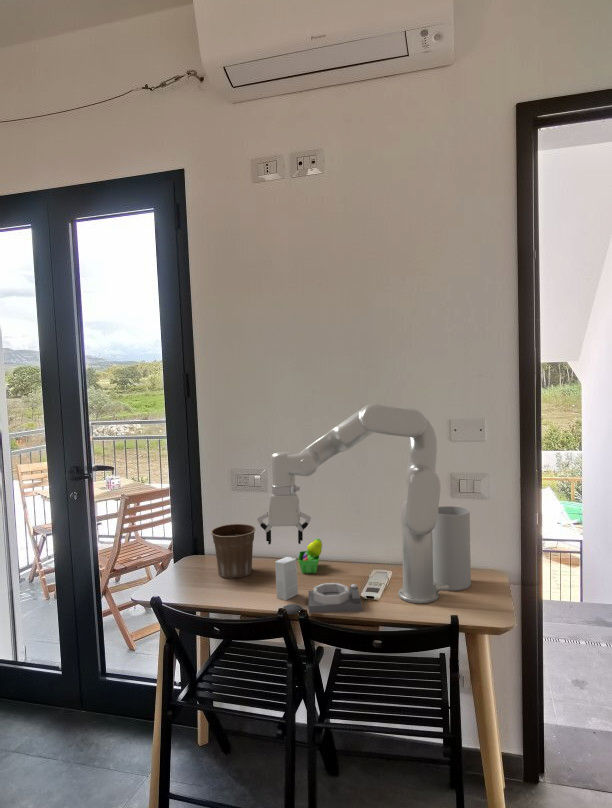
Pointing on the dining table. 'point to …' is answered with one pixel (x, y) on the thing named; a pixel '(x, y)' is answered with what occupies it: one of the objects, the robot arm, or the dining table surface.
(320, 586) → the octagonal ring base
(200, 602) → the dining table surface
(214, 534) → the plant pot
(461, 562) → the cylinder vase
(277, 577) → the skincare box
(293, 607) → the lens cap
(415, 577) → the robot arm
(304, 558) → the fruit basket
